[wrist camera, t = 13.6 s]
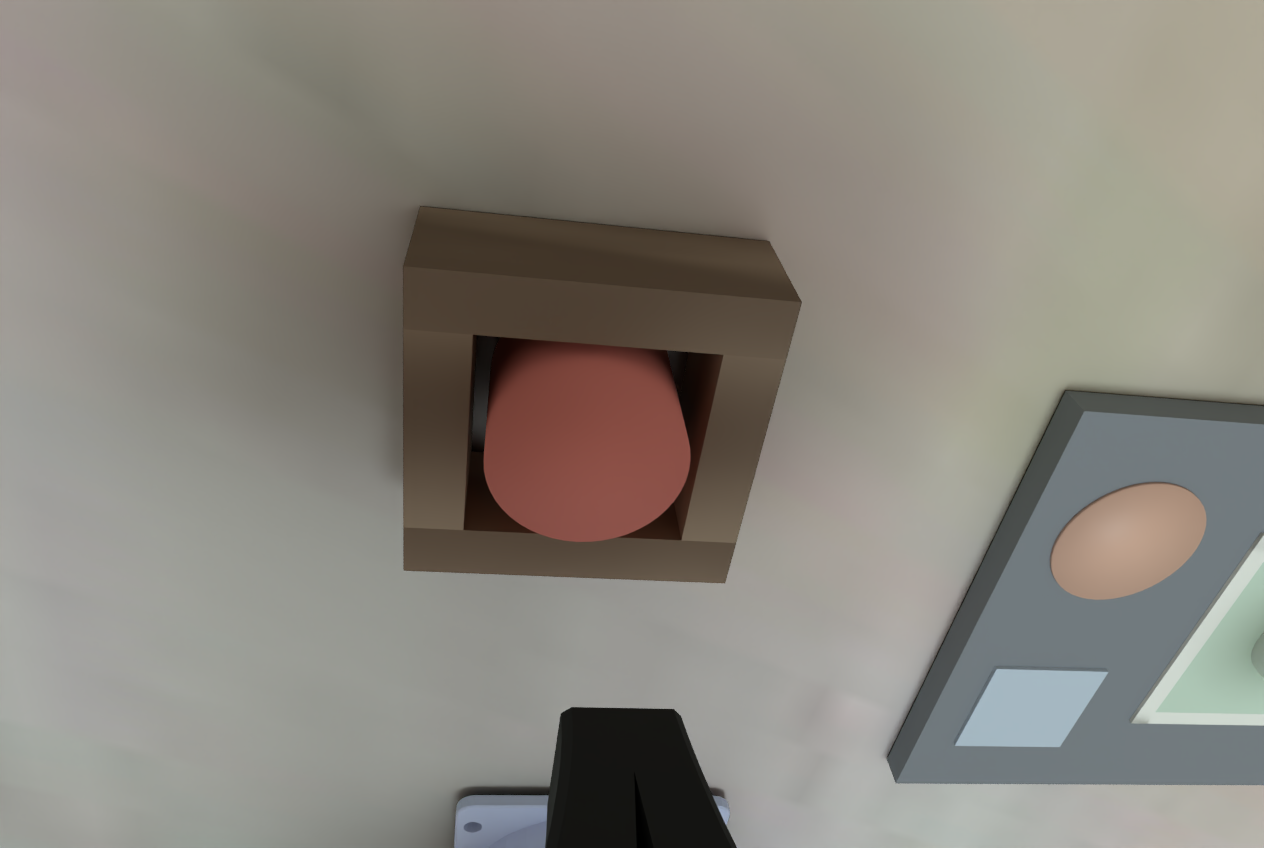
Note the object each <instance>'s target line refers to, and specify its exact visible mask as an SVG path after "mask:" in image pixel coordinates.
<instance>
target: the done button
mask: <svg viewBox="0 0 1264 848" xmlns="http://www.w3.org/2000/svg"><path fill="white" fill-rule="evenodd" d="M690 460H691V459H690V445H689V440H688V435H687V431H686V427H685V423H684V419H683V415H682V410H681V406H680V402H679V398H678V394H677V390H676V386H675V381H674V377H673V373H672V369H671V365H670V361H669V357H668V352H667V350H657V349H645V348H632V347H620V346H607V345H595V344H582V343H570V342H557V341H545V340H532V339H520V338H507V337H500V339H499V341H498V343H497V345H496V347H495V350H494V353H493V357H492V362H491V371H490V384H489V396H488V409H487V422H486V434H485V447H484V473H485V478H486V482H487V484H488V487H489V490H490V492H491V494H492V495H493V497H494V499H495V501H496V502H497V503H498V504H499V506H500V507H501V508H502V509H503V510H504V511H505V512H506V513H507V514H508V515H509V516H510V517H511V518H512V519H514V520H515V521H516V522H517V523H519V524H520V525H522V526H524V527H526V528H527V529H529V530H531V531H534V532H536V533H538V534H540V535H544V536H547V537H550V538H554V539H559V540H564V541H573V542H593V541H603V540H608V539H613V538H617V537H620V536H623V535H626V534H629V533H631V532H634V531H636V530H638V529H640V528H642V527H644V526H646V525H647V524H649V523H651V522H652V521H653V520H655V519H656V518H658V517H659V516H660V515H661V514H662V513H663V512H665V511H666V510H667V509H668V508H669V507H670V505H671V504H672V503H673V502H674V501H675V499H676V498H677V496H678V495H679V493H680V492H681V490H682V488H683V486H684V484H685V482H686V479H687V476H688V472H689V467H690Z"/></svg>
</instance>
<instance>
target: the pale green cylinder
mask: <svg viewBox="0 0 1264 848" xmlns="http://www.w3.org/2000/svg"><path fill="white" fill-rule="evenodd" d="M1251 659H1252V663H1253V665H1254V667H1255V668H1256V670H1257V671H1258V672H1259V674H1260V675H1261V676H1262V678H1263V679H1264V633H1263V634H1262V635H1261V636H1260V637H1259V639H1258V640H1257V642H1256V643H1255V645H1254V648H1253V650H1252V654H1251Z"/></svg>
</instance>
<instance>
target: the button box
mask: <svg viewBox="0 0 1264 848" xmlns="http://www.w3.org/2000/svg"><path fill="white" fill-rule="evenodd" d="M801 303H802V302H801V300H800V298H799V296H798V294H797V292H796V290H795V289H794V287H793V285H792V283H791V281H790V279H789V277H788V276H787V274H786V272H785V270H784V268H783V266H782V264H781V262H780V261H779V259H778V257H777V255H776V253H775V251H774V249H773V248H772V246H771V244H770V242H769V241H759V240H749V239H739V238H729V237H719V236H710V235H700V234H690V233H680V232H670V231H660V230H650V229H640V228H630V227H620V226H610V225H600V224H590V223H580V222H570V221H560V220H550V219H541V218H531V217H521V216H511V215H501V214H491V213H481V212H471V211H461V210H451V209H441V208H431V207H421V206H420V209H419V213H418V216H417V220H416V223H415V227H414V230H413V234H412V237H411V241H410V244H409V248H408V251H407V255H406V258H405V262H404V265H403V521H404V571H429V572H454V573H479V574H504V575H529V576H554V577H579V578H605V579H630V580H655V581H680V582H705V583H725V581H726V578H727V574H728V570H729V567H730V563H731V559H732V556H733V552H734V548H735V545H736V541H737V537H738V534H739V530H740V526H741V523H742V519H743V515H744V512H745V508H746V504H747V501H748V497H749V493H750V490H751V486H752V483H753V479H754V475H755V472H756V468H757V464H758V461H759V457H760V453H761V450H762V446H763V442H764V439H765V435H766V431H767V428H768V424H769V420H770V417H771V413H772V409H773V406H774V402H775V398H776V395H777V391H778V387H779V384H780V380H781V377H782V373H783V369H784V366H785V362H786V358H787V355H788V351H789V347H790V344H791V340H792V336H793V333H794V329H795V325H796V322H797V318H798V314H799V311H800V307H801ZM477 335H482V336H495V337H507V338H520V339H532V340H545V341H557V342H570V343H582V344H595V345H607V346H620V347H632V348H645V349H657V350H670V351H682V352H689V353H688V358H687V363H686V368H685V373H684V377H683V382H682V387H681V392H680V397H679V402H680V406H681V410H682V415H683V419H684V423H685V427H686V431H687V435H688V440H689V445H690V459H691V460H690V467H689V472H688V476H687V479H686V482H685V484H684V486H683V488H682V490H681V492H680V493H679V495H678V496H677V498H676V499H675V501H674V502H673V503H672V504H671V505H670V507H669V508H668V509H667V510H666V511H665V512H663V513H662V514H661V515H660V516H659V517H658V518H656V519H655V520H653V521H652V522H651V523H649V524H647V525H646V526H644V527H642V528H640V529H638V530H636V531H634V532H631V533H629V534H626V535H623V536H620V537H617V538H613V539H608V540H603V541H593V542H573V541H564V540H559V539H554V538H550V537H547V536H544V535H540V534H538V533H536V532H534V531H531V530H529V529H527V528H526V527H524V526H522V525H520V524H519V523H517V522H516V521H515V520H514V519H512V518H511V517H510V516H509V515H508V514H507V513H506V512H505V511H504V510H503V509H502V508H501V507H500V506H499V504H498V503H497V502H496V501H495V499H494V497H493V495H492V494H491V492H490V490H489V487H488V484H487V482H486V478H485V473H484V452H471V445H472V425H473V405H474V386H475V366H476V346H477Z"/></svg>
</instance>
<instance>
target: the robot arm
mask: <svg viewBox="0 0 1264 848" xmlns="http://www.w3.org/2000/svg"><path fill="white" fill-rule="evenodd" d="M729 816H730V810H729V805H728V802H727V800H726V799H724V798H722V797H720V796H712V793H711V791H710V789H709V787H708V784H707V782H706V780H705V777H704V775H703V773H702V770H701V768H700V765H699V763H698V760H697V758H696V755H695V753H694V750H693V748H692V745H691V743H690V740H689V737H688V735H687V732H686V729H685V727H684V724H683V721H682V718H681V716H680V715H679V714H678V713H677V712H676V711H675V710H674V709H636V708H581V707H571V708H570V709H568V710H566V711H564V712H563V713H561V716H560V723H559V730H558V736H557V743H556V750H555V757H554V763H553V770H552V777H551V783H550V790H549V795H471V796H467V797H464V798H462V799H461V800H460V801H459V802H458V803H457V806H456V820H455V838H454V848H737V847H736V845H735V843H734V841H733V839H732V837H731V835H730V833H729V831H728V829H727V826H726V825H727V822H728V819H729Z"/></svg>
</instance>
